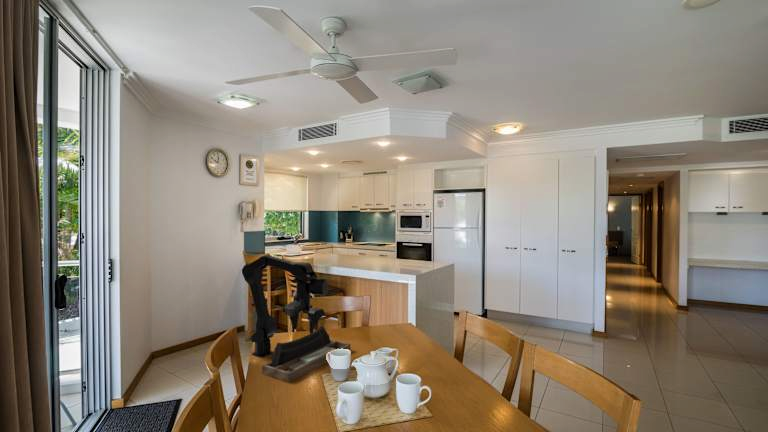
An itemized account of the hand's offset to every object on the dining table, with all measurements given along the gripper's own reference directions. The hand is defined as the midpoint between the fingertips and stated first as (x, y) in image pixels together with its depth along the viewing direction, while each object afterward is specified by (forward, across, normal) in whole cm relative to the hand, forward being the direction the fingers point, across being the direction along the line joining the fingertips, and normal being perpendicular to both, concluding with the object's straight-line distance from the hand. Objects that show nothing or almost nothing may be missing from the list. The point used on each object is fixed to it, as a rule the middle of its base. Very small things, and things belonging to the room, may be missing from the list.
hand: (302, 331), depth 150 cm
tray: (+12, +3, 0) cm, 12 cm away
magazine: (+12, 0, 0) cm, 12 cm away
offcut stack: (+12, +7, 0) cm, 14 cm away
